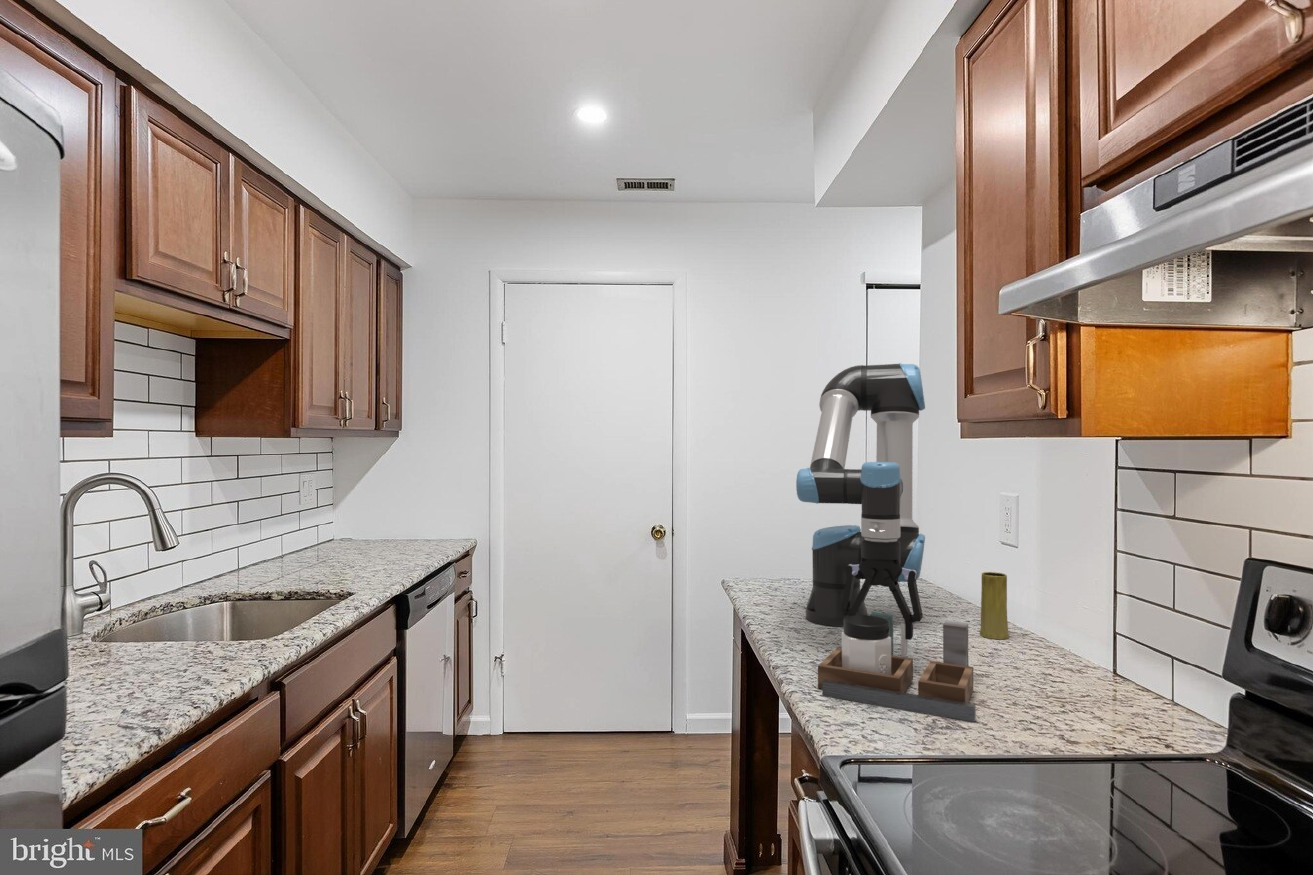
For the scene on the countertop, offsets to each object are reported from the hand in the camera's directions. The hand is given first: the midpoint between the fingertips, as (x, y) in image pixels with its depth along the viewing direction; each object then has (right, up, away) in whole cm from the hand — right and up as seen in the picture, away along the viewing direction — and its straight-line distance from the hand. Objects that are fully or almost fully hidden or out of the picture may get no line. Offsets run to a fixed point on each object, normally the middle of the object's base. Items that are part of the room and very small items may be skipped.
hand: (881, 651), depth 146 cm
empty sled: (+8, -3, -14) cm, 17 cm away
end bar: (-4, -3, -22) cm, 23 cm away
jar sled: (-4, -3, -7) cm, 9 cm away
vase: (+33, -3, +21) cm, 39 cm away
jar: (-6, -3, -11) cm, 13 cm away
